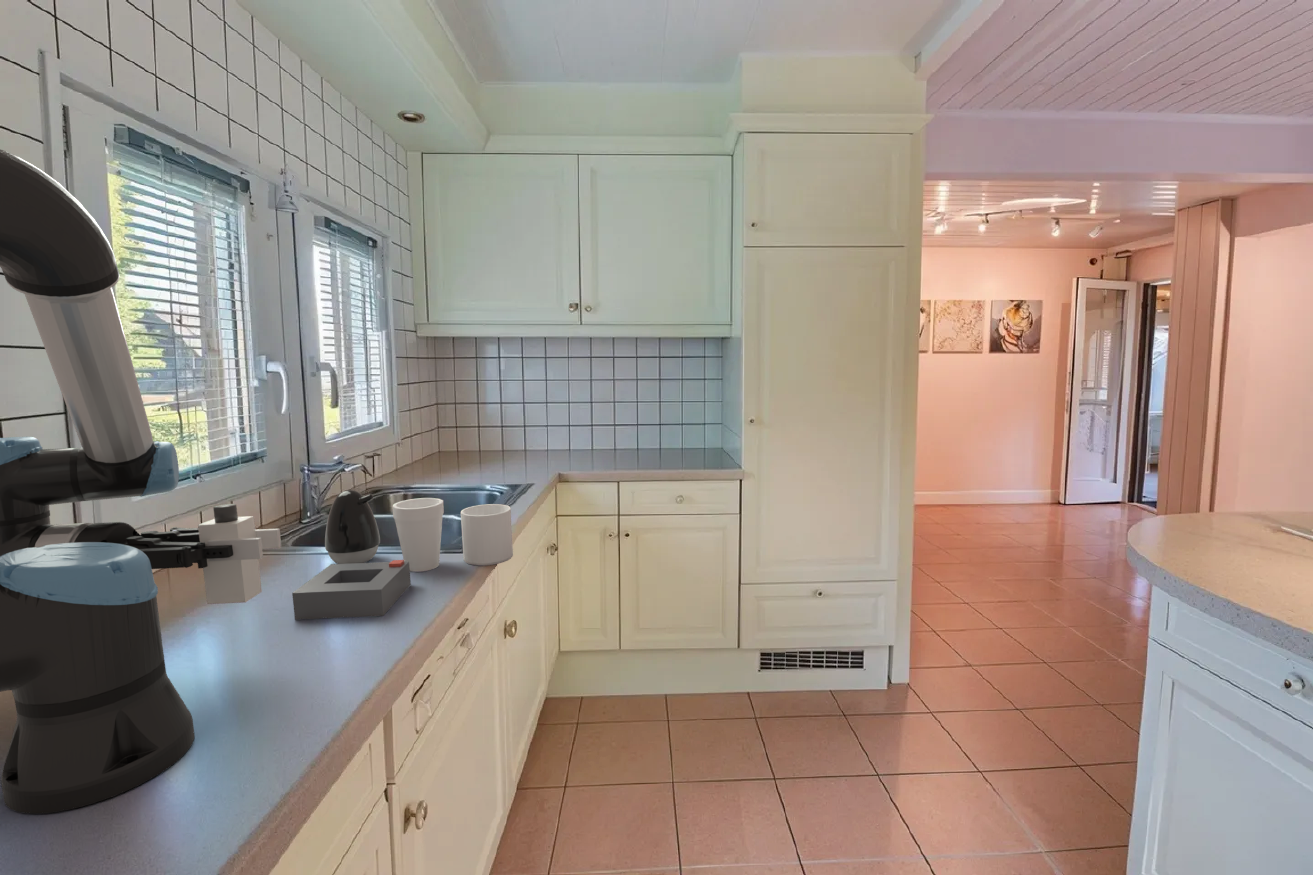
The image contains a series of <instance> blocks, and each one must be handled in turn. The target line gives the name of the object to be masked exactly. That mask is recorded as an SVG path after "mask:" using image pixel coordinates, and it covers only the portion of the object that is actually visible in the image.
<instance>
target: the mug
mask: <svg viewBox="0 0 1313 875" xmlns="http://www.w3.org/2000/svg"><path fill="white" fill-rule="evenodd" d="M511 510H512V509H511V506H509V505H507V504H500V503H499V504H498V503H490V504H478V505H472V506H469V507H465V508H463V509H462V510H461V511H460V523H461V524H460V527H461V539H462V540H461V541H462V555H463V557H462V558H463V561H464V562H465V563H466V564H468V565H471V566H478V567H479V566H480V567H481V566H482V567H483V566H485V567H486V566H492V565H498V564H503V563H506V562H508V561H509V560H511V559H512V558H513V557H514V551H513V550H514V548H513V546H514V545H513V530H512V526H513V525H512V512H511Z"/></svg>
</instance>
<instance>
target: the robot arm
mask: <svg viewBox="0 0 1313 875" xmlns="http://www.w3.org/2000/svg"><path fill="white" fill-rule="evenodd" d="M0 268H1V271H2V274H3V276H4V278H5V281H6V283H7V285H9V287H11V288H12V289H14V290H16V291H17V292H19V293H22V294H23V295H24V296H25V299H26V301H27V305H28V306H29V310H30V312H31V315H32V319H33V320H34V322H35V325H36V327H37V331H38V334H39V336H40V339H41V341H42V344H43V347H44V349H45V352H46V354H47V358H48V360H49V362H50V365H51V368H52V371H53V373H54V376H55V379H56V381H57V382H56V383H57V385H58V387H59V390H60V391H61V394H62V397H63V400H64V402H65V403H64V404H65V405H66V409H67V411H68V413H69V417H70V418H71V421H72V424H73V427H74V429H75V432H76V436H77V437H78V440H79V444H80V445H81V447H68V448H66V447H65V448H47V449H45V448H44V449H43V446H42V445H41V443H40V440H39V439H38V438H36V437H35V436H11V437H0V693H1V692H6V691H11V693H12V696H13V698H14V704H15V705H14V706H15V713H16V720H15V726H14V728H13V732H12V736H11V740H10V744H9V746H8V749H7V753H6V758H5V761H4V765H3V769H2V772H1V779H0V784H1V790H2V796H3V802H4V804H5V806H6V807H7V808H8V809H10V810H12V811H15V812H17V813H21V814H35V815H36V814H38V815H39V814H52V813H59V812H64V811H70V810H74V809H77V808H82V807H85V806H88V805H89V806H90V805H92V804H95V803H98V802H101V801H105V800H107V799H110V798H113V797H116V796H118V795H121V794H124V793H126V792H127V791H130V790H132V789H134V788H136V787H138V786H140V785H142V784H144V783H146V782H148V781H149V780H152V779H154V778H155V777H157V776H158V775H160V774H161V773H163V772H165V771H166V770H167V769H169V768H170V767H172V766H173V765H174V764H176V763H177V762H178V761H179V760H180V759H182V757H183V756H184V755H186V753H187V752H188V751H189V750H190V748H191V746H192V745H193V742H194V741H195V728H194V719H193V716H192V714H191V712H190V710H189V709H188V707H187V705H186V704H185V701H183V698H182V697H181V696H180V694H179V692H178V691H177V689H176V687H175V686H174V685H173V684H174V683H172V681H171V680H170V677H168V674H167V668H166V662H165V654H164V653H165V652H164V646H163V639H162V638H163V637H162V630H161V624H160V623H161V622H160V615H159V606H158V599H157V596H158V593H159V589H158V586H157V584H156V583H155V578H154V574H153V570H163V569H164V570H165V569H180V568H186V569H188V568H191V567H192V566H193V565H194V564H197V568H198V569H203V568H205V567H207V566H208V565H207V559H209V561H224V560H247V559H258V560H261V559H262V558H264V552H263V550H275V549H277V550H278V549H279V550H280V549H281V548H282V541H281V529H280V528H266V529H265V528H262V529H258V528H257V529H255V533H256V538H243V539H220V540H209V541H207V543H208V546H205V543H202V542H200V538H199V530H198V527H191V528H190V527H187V528H186V527H177V526H175V527H171V528H170V529H169V531H158V530H149V531H142V532H141V533H139V532H138V531H137V530H136V529H135V528H134V526H132V525H130V524H128V523H127V522H122V521H116V522H115V521H112V522H109V521H108V522H79V523H60V524H59V523H58V524H57V523H56V524H51V518H50V517H51V510H50V506H52V505H60V504H72V503H78V502H80V503H81V502H90V501H91V502H92V501H100V500H112V499H122V498H134V497H146V496H149V495H155V494H157V495H158V494H162V493H163V494H164V493H168V492H169V493H170V492H172V491H173V490H176V488H177V487H178V484H179V478H180V476H179V475H180V473H179V472H180V471H179V469H180V468H179V460H178V455H177V450H176V447H175V446H174V444H173V443H172V442H170V441H159V440H154V438H153V433H152V430H151V427H150V426H151V425H150V423H149V419H148V414H147V412H146V409H145V404H144V400H143V398H142V393H141V389H140V386H139V383H138V378H137V375H136V371H135V367H134V364H133V360H132V357H131V354H130V353H131V352H130V349H129V345H128V343H127V339H126V335H125V331H124V328H123V325H122V320H121V317H120V312H119V308H118V305H117V302H116V298H115V294H114V291H113V288H114V287H115V286H116V285H117V284H118V282H119V281H120V280H119V279H120V271H119V267H118V264H117V260H116V256H115V254H114V251H113V249H112V246H111V243H110V242H109V240H108V238H107V236H106V235H105V233H104V231H103V229H102V228H101V227H100V225H99V224H98V222H97V221H96V219H95V218H94V217H93V216H92V215H91V214H90V213H89V211H88V210H87V209H86V208H85V207H84V206H83V204H82V203H81V202H80V201H79V200H78V199H77V198H76V197H74V196H73V195H72V194H71V193H70V192H69V191H68V190H67V189H66V188H65V187H64V186H63V185H62V184H61V183H60V182H58V181H57V180H56V179H54V178H53V177H51V176H50V175H49V174H47V173H46V172H44V171H43V170H42V169H40V168H38V167H37V166H35V165H34V164H32V163H30V162H29V161H27V160H25V159H23V158H21V157H20V156H17V155H15V154H13V153H11V152H8V151H6V150H3V149H0Z"/></svg>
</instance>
